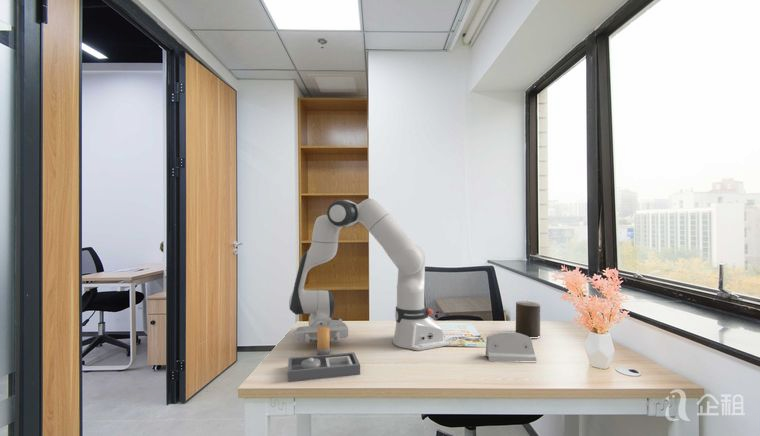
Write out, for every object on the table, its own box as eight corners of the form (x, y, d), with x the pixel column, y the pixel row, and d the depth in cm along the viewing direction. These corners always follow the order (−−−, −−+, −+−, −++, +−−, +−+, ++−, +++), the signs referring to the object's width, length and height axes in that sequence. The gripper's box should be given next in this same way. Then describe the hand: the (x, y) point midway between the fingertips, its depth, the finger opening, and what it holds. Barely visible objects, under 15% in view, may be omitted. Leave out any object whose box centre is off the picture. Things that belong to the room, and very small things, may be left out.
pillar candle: (525, 339, 142) (525, 303, 142) (510, 332, 151) (511, 298, 152) (545, 338, 144) (545, 302, 144) (530, 331, 154) (530, 297, 154)
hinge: (488, 361, 120) (485, 330, 123) (485, 360, 124) (483, 331, 128) (538, 362, 118) (534, 332, 122) (533, 362, 123) (529, 332, 126)
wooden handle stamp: (329, 353, 127) (329, 325, 127) (330, 358, 122) (330, 329, 122) (316, 354, 126) (316, 326, 126) (317, 359, 121) (317, 330, 121)
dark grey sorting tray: (354, 360, 119) (354, 348, 120) (360, 374, 109) (360, 361, 109) (288, 367, 114) (288, 354, 114) (287, 381, 103) (288, 367, 104)
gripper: (293, 321, 137) (293, 332, 123) (345, 318, 141) (350, 328, 128) (293, 338, 136) (293, 350, 123) (345, 334, 141) (350, 345, 128)
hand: (323, 339), depth 125 cm, fingers open, 8 cm apart
